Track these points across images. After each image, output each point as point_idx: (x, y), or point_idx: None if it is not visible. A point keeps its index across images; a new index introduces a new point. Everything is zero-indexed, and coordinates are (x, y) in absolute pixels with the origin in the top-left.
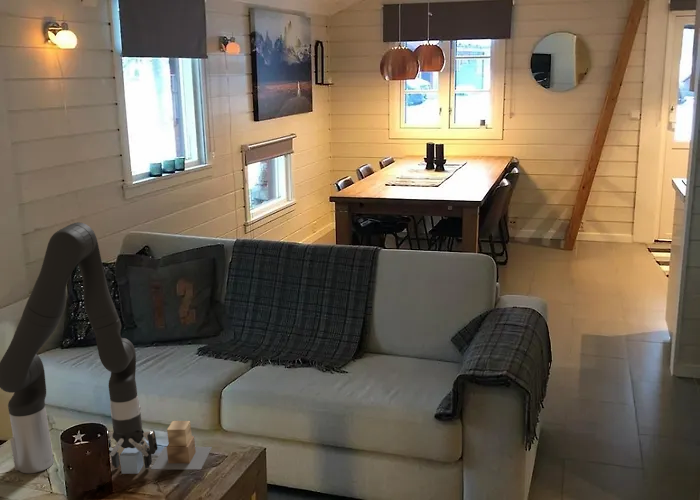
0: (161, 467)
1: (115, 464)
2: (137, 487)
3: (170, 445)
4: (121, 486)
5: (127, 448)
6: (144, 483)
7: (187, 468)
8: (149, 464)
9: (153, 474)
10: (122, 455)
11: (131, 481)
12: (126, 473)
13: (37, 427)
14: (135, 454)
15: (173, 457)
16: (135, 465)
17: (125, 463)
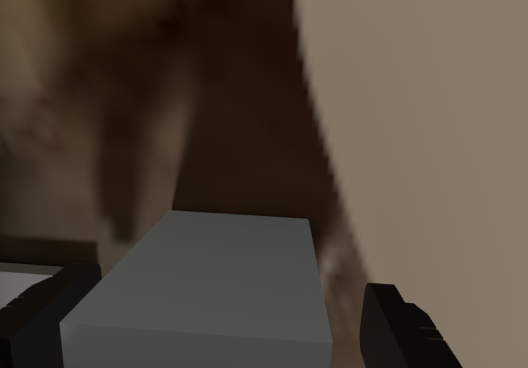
0: (2, 294)
1: (388, 301)
2: (111, 31)
3: None
4: (262, 52)
5: None
6: (76, 95)
7: None
8: (37, 284)
9: (58, 227)
10: (282, 344)
11: (200, 132)
12: (266, 222)
13: None
14: (82, 358)
15: None
16: (148, 251)
17: (257, 270)
